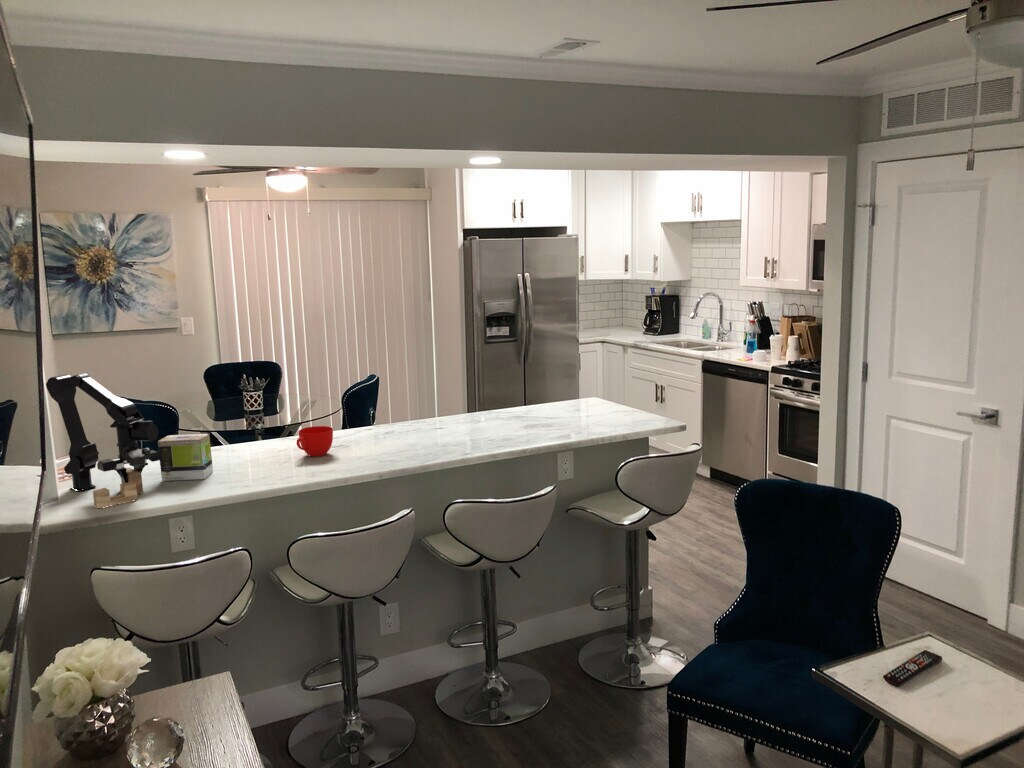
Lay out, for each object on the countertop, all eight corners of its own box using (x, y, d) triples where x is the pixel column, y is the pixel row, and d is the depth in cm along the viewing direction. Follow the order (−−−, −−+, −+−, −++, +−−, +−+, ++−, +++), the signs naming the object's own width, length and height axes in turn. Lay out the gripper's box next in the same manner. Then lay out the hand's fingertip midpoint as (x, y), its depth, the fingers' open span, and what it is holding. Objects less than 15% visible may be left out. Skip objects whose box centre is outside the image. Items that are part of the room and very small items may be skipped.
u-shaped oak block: (94, 507, 255) (92, 490, 254) (133, 498, 264) (131, 481, 263) (98, 509, 253) (96, 492, 252) (137, 500, 261) (135, 483, 260)
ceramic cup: (285, 459, 307) (283, 434, 305) (315, 449, 322) (314, 425, 320) (311, 463, 301) (310, 437, 299) (341, 452, 316) (339, 427, 314)
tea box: (213, 472, 292) (210, 432, 290) (204, 480, 282) (200, 439, 280) (171, 473, 292) (167, 434, 289) (160, 481, 282) (156, 440, 279)
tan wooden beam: (122, 489, 274) (120, 469, 273) (131, 487, 276) (129, 467, 275) (134, 495, 267) (131, 474, 266) (143, 492, 269) (141, 472, 268)
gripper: (107, 449, 256) (112, 496, 259) (165, 438, 269) (169, 483, 272) (94, 444, 264) (99, 490, 267) (151, 433, 277) (156, 477, 280)
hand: (132, 485), depth 271 cm, fingers closed on tan wooden beam, 3 cm apart
